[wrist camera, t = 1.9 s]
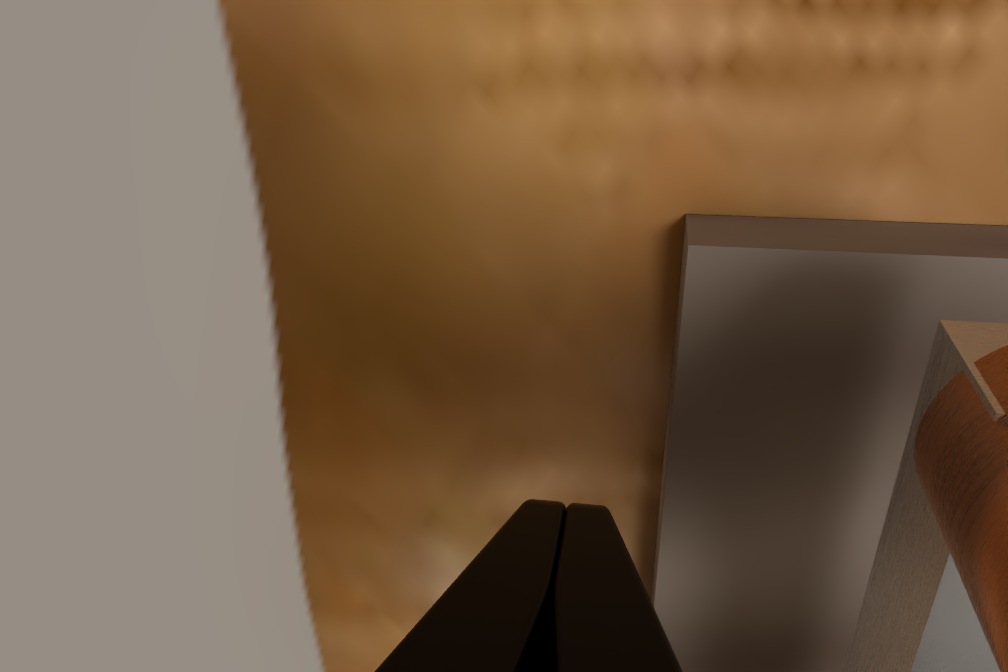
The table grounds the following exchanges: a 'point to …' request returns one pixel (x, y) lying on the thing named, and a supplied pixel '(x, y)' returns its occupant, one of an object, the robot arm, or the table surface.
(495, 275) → the table surface
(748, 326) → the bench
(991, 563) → the lever
